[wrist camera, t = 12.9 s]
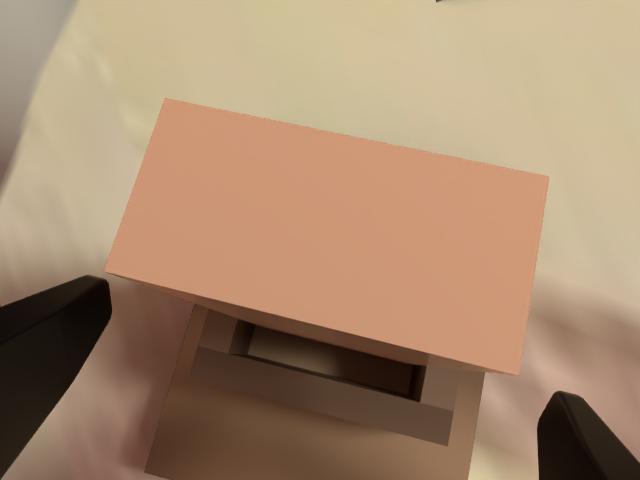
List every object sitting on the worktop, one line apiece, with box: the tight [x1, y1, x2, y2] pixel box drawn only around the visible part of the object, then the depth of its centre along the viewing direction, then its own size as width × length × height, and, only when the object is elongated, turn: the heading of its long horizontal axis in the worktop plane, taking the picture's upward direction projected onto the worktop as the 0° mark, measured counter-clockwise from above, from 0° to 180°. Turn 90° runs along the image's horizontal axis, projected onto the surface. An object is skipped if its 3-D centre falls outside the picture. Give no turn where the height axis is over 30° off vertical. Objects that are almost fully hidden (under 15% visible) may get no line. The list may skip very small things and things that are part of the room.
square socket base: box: [144, 304, 485, 480], centre depth 17 cm, size 14×11×4 cm
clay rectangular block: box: [104, 98, 549, 376], centre depth 12 cm, size 2×5×12 cm, turn 76°
